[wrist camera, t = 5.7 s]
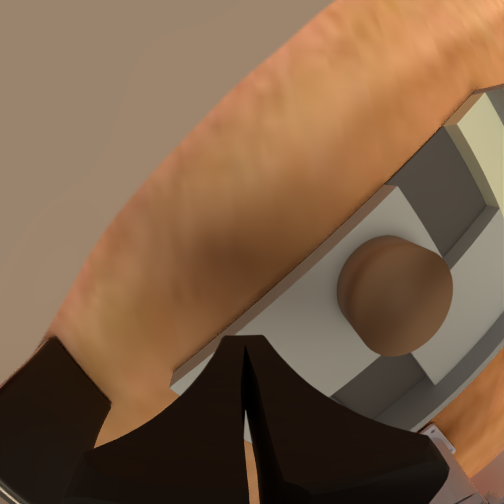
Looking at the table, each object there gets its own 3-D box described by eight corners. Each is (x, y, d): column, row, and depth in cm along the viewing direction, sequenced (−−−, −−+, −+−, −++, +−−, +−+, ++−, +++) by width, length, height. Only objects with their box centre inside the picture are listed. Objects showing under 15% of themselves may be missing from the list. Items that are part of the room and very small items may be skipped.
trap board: (540, 242, 18) (566, 251, 15) (312, 464, 21) (319, 493, 18) (475, 90, 15) (507, 82, 11) (173, 372, 18) (164, 407, 15)
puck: (436, 281, 16) (466, 299, 13) (372, 346, 17) (393, 374, 14) (390, 213, 15) (421, 222, 12) (315, 287, 16) (333, 311, 13)
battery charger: (27, 349, 17) (-58, 445, 6) (54, 331, 17) (-43, 439, 6) (85, 418, 19) (34, 528, 8) (116, 406, 19) (66, 533, 8)
